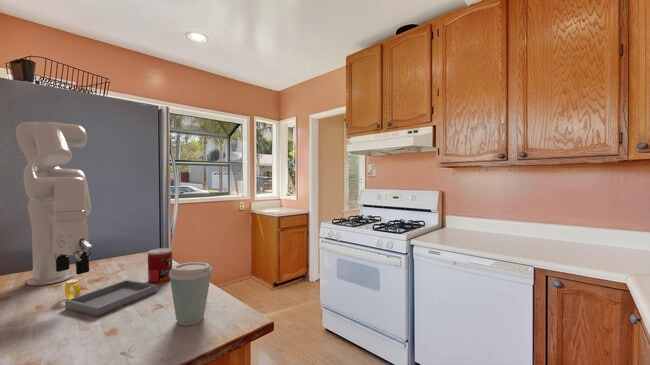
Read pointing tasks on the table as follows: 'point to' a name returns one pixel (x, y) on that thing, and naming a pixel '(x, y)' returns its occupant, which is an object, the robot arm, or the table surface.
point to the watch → (75, 286)
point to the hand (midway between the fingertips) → (72, 271)
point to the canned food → (159, 265)
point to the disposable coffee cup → (190, 291)
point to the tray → (110, 298)
